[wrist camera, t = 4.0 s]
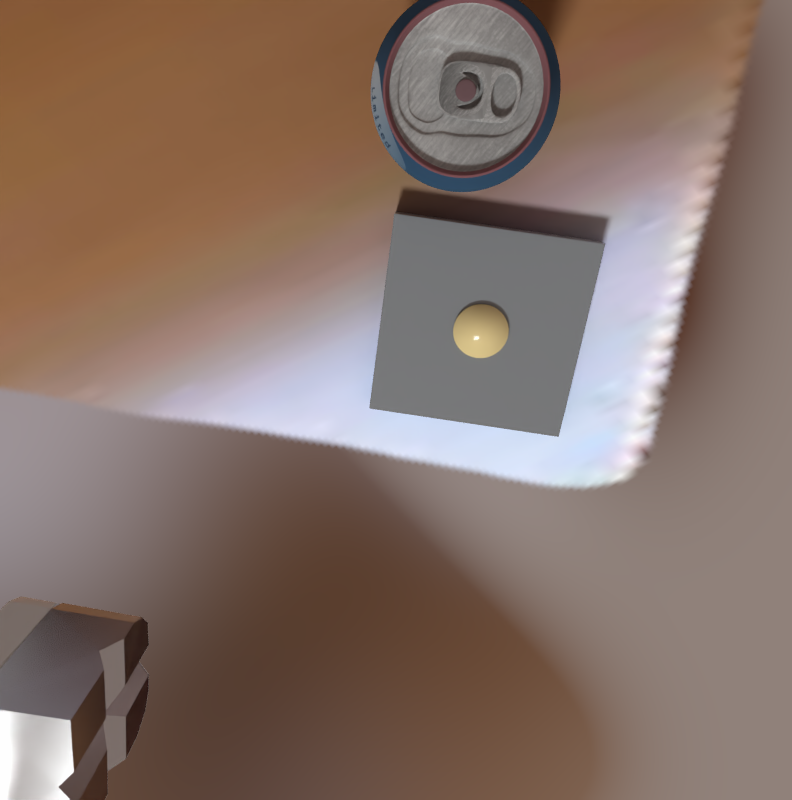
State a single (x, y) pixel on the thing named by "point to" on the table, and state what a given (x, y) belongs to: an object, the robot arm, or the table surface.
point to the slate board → (482, 322)
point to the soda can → (465, 91)
